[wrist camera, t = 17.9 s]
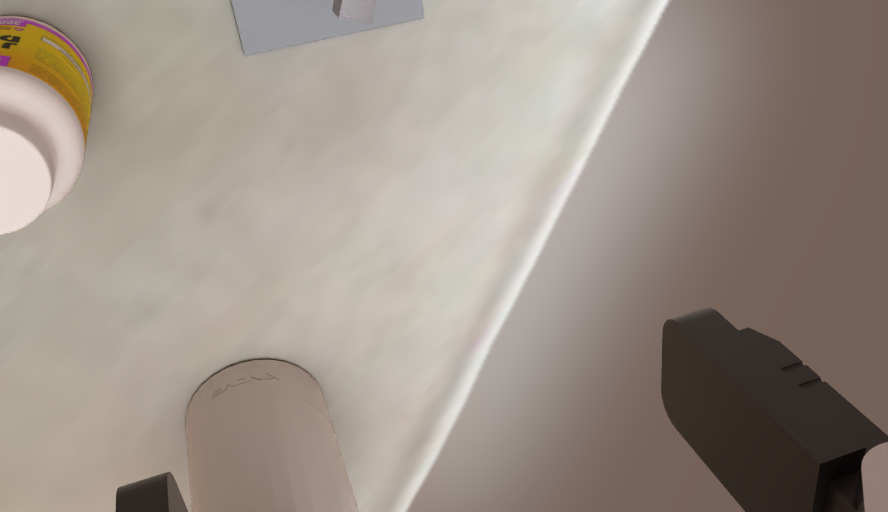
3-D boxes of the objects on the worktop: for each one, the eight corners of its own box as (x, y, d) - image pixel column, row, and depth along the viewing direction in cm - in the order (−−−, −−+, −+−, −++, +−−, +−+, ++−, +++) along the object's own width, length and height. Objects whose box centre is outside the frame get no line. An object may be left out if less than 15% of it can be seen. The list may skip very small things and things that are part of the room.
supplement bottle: (37, -13, 41) (4, 62, 30) (120, 101, 44) (117, 204, 34) (-87, 54, 40) (-164, 154, 30) (7, 164, 44) (-32, 287, 34)
